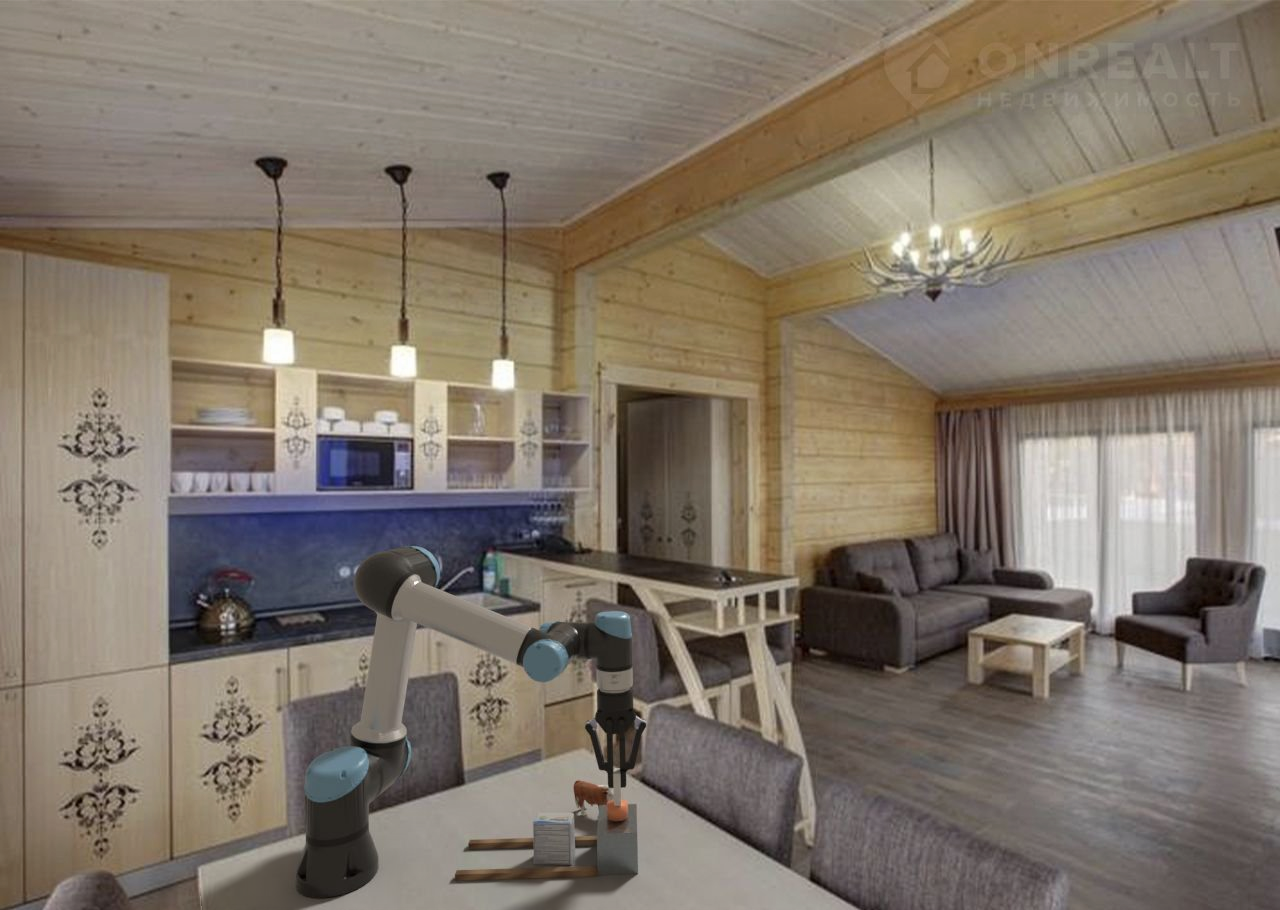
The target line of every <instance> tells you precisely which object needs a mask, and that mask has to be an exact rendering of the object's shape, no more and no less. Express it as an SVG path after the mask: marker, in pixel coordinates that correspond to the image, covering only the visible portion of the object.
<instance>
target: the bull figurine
mask: <svg viewBox="0 0 1280 910" xmlns="http://www.w3.org/2000/svg"><path fill="white" fill-rule="evenodd" d="M573 795H574V803H575V805H576V808H577V809H580V814H581V815H582V817H584V818H585V817H587V816H588V814H587V812H586V810H588V809H587V807H586V804H585V802H586V803H587V804H588V805H590V806H591V807H593V806H596V805H597V807H598V809H599V805H607V802H608V801H610V800H612V799H614V789H613V788H609V787H608V784H596V783H591V782H589V781H585V780H580V779H577V780H576V781H574V784H573Z"/></svg>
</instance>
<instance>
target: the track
mask: <svg viewBox="0 0 1280 910" xmlns="http://www.w3.org/2000/svg"><path fill="white" fill-rule="evenodd" d="M467 845H468V846H467V847H468V850H483V849H485V850H488V849H513V848H514V849H515V848H516V849H518V848H534V845H533V837H520V838H519V837H518V838H516V837H515V838H489V839H488V838H483V839H481V838H480V839H469V841H468V843H467ZM582 846H583V847H584V846H585V847H586V846H588V847H589V846H597V835H588V836H587V835H586V836H585V835H582V836H579V835H578V836H575V847H582ZM598 876H599V875H598V867H597V865H584V866H583V865H582V866H580V865H579V866H578V865H577V866H551V867H546V866H545V867H522V868H521V867H515V868H514V867H513V868H512V867H511V868H487V869H485V868H484V869H457V870H455V873H454V882H455V881H456V882H457V881H486V880H487V881H488V880H492V881H493V880H515V879H516V880H519V879H521V880H525V879H553V878H556V879H557V878H583V877H586V878H587V877H598Z"/></svg>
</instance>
